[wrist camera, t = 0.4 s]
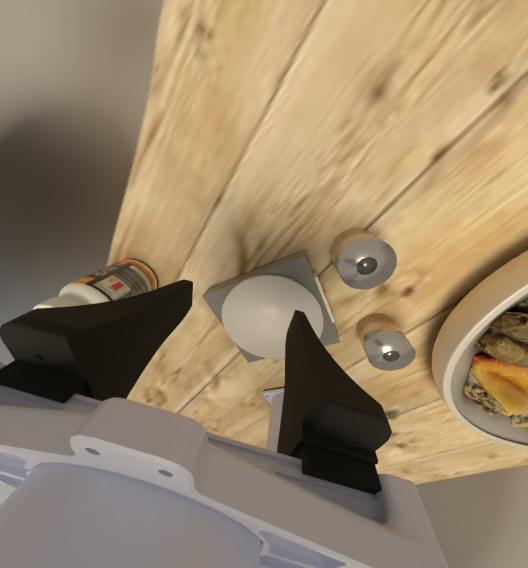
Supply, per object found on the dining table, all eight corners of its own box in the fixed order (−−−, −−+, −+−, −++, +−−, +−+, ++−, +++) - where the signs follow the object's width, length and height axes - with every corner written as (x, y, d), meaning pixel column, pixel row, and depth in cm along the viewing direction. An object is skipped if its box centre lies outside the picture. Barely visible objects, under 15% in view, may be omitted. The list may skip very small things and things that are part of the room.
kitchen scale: (340, 330, 24) (345, 346, 22) (251, 351, 29) (247, 367, 26) (308, 247, 20) (310, 256, 17) (209, 287, 24) (199, 299, 22)
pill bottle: (129, 248, 23) (30, 286, 15) (166, 279, 25) (97, 330, 16) (113, 275, 26) (20, 321, 17) (148, 302, 27) (78, 357, 18)
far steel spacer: (397, 336, 23) (418, 366, 20) (360, 343, 25) (373, 373, 21) (391, 309, 22) (412, 336, 18) (352, 319, 23) (364, 346, 19)
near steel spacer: (379, 260, 20) (400, 279, 16) (337, 274, 21) (346, 295, 17) (370, 220, 18) (391, 230, 14) (324, 239, 19) (332, 252, 15)
